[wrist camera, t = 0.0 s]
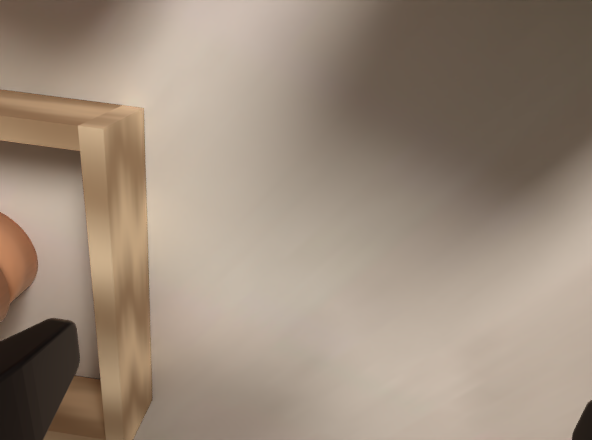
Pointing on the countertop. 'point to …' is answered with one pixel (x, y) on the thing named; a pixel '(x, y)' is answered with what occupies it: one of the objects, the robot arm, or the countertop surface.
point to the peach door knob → (14, 262)
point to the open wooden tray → (101, 253)
